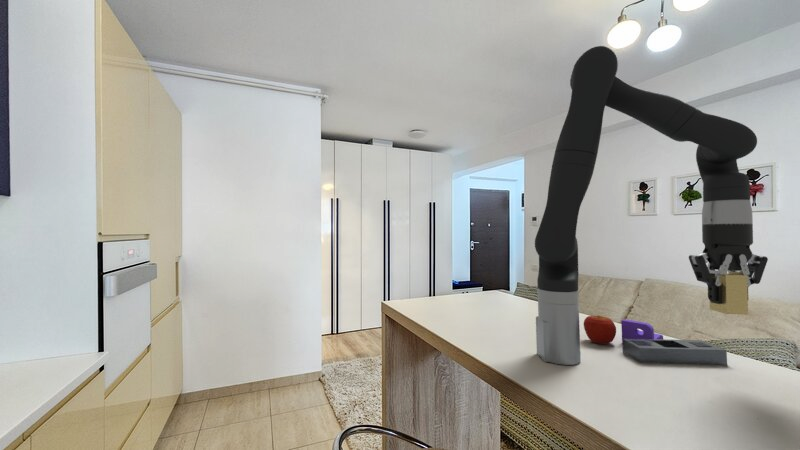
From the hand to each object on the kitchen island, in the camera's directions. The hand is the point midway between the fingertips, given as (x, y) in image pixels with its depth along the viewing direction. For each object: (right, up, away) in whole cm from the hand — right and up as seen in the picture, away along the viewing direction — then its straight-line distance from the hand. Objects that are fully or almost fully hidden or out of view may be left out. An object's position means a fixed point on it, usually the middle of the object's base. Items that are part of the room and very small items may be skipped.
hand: (728, 303), depth 67 cm
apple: (-12, -17, +24) cm, 32 cm away
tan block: (0, -2, 0) cm, 2 cm away
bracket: (0, -18, +24) cm, 29 cm away
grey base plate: (-2, -17, +12) cm, 20 cm away
